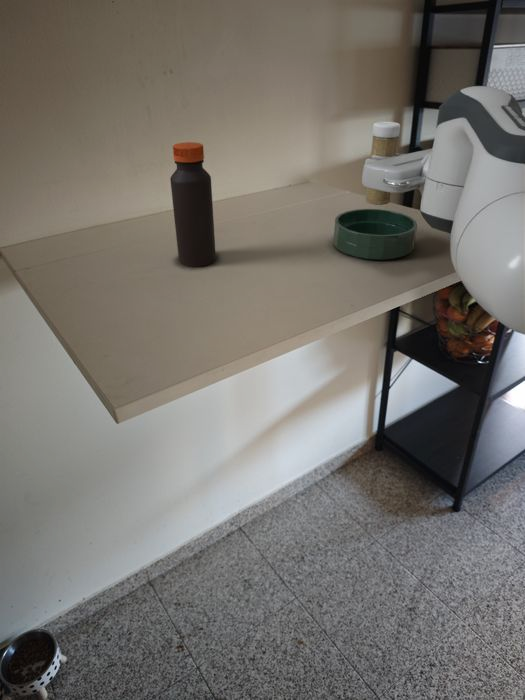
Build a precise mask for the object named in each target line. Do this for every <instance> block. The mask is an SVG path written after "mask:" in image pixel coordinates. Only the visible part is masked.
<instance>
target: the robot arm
mask: <svg viewBox="0 0 525 700" xmlns="http://www.w3.org/2000/svg"><path fill="white" fill-rule="evenodd" d="M435 128H436V129H435V130H436V131H435V134H434V135H435V136H434V140H433V144H432V148H428V149H427V148H426V149H423V150H422V149H421V150H418V151H414V152H409V153H398V152H396V157H391V158H387V159H382V160H379V159H377V158H371V157H368V158H366V159H365V160H364V164H363V167H362V175H361V184H362V186H363V187H364V188H366V189H367V188H370V189H375V190H379V191H384V192H390V194H391V193H392V194H402V193H407V192H410V191H414V190H419V193H420V195H421V199H420V209H419V212H420V214H421V217H422V218H423V219H424V221H425V222H426V223H427V224H428V225H429V227H431V228H432V229H435V230H437V231H440V232H444V233H446V234H450V241H449V242H450V243H449V244H450V245H449V246H450V247H449V248H450V258H451V263H452V266H453V269H454V271H455V273H456V275H457V277H458V278H459V280H460V281H461V283H462V284H463V286H464V288H465V289H466V291H467V292H468V293H469V294H470V296H471V297H472V298H473V300H474V301H475V302H476V303H477V304H478V305H479V306H480V307H481V308H482V309H483V310H484V311H485V312H486V313H487V314H489V315H490V316H491V317H492V318H493V319H495V321H497V322H499V323H500V324H502V325H503V326H505V327H506V328H508V329H510V330H512V331H513V332H516V333H519V334H521V335H524V336H525V115H524V114H523V110H522V107H521V106H520V104H519V102H518V101H517V99H516V97H514V96H513V94H510V93H508V92H506V91H505V90H502V89H500V88H497V87H493V86H486V85H474V86H468V87H464V88H459V89H458V90H456V91H455V92H453V93H452V94H450V96H448V97H447V99H445V100H444V101H443V102H442V103H441V105H439V107H438V113H437V120H436V126H435Z"/></svg>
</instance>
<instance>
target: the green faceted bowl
mask: <svg viewBox="0 0 525 700" xmlns="http://www.w3.org/2000/svg"><path fill="white" fill-rule="evenodd" d="M417 231H418V223H417V221H416V220H415V218H413V217H411V216H409V215H407V214H404V213H403V212H398V211H394V210H388V209H381V208H360V209H351V210H347V211H344V212H341V213H339V214H338V215H336V216H335V218H334V229H333V243H332V244H333V246H334V247H335V248H336V250H338V251H341V252H342V253H344V254H346V255H349V256H352V257H354V258H358V259H364V260H370V261H371V260H373V261H384V260H386V261H387V260H392V259H398V258H401V257H405V256H407V255H409V254H411V253H412V251H413V249H414V248H415V243H416V238H417Z"/></svg>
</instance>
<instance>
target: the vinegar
mask: <svg viewBox="0 0 525 700" xmlns="http://www.w3.org/2000/svg"><path fill="white" fill-rule="evenodd" d="M172 153H173V160H174V164H176V169H175V171H174V172H173V173H172V175H171V176H170V178H169V180H170V189H171V191H170V192H171V199H172V208H173V216H174V228H175V237H176V238H175V239H176V247H177V255H178V257H177V258H178V261H179V263H180V264H181V265H183V266H186V267H190V268H200V267H206V266H208V265H211V264H213V263H214V262H215V261H216V258H217V256H216V254H217V253H216V240H215V239H216V237H215V221H214V207H213V190H212V188H213V187H212V177H211V174H210V173H209V172H207V170H206V169H205V168H204V167H203V166H204V165H203V163H204V162H205V153H204V144H202V143H200V142H191V141H190V142H189V141H188V142H179V143H178V142H177V143H175V144H173V145H172Z"/></svg>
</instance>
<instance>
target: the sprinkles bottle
mask: <svg viewBox="0 0 525 700" xmlns="http://www.w3.org/2000/svg"><path fill="white" fill-rule="evenodd" d="M371 134H372V141H371V143H372V144H371V151H370V158H377V159H379V160H382V159H387V158H391V157H396V153H397V148H398V140H399V136H400V135H401V124H400V123H399V122H395V121H378V122H374V123H373V125H372V131H371ZM365 202H366V203H368V204H371V205H375V206H383V205H388V204H389V203H390V202H391V193H390V192H384V191H379V190H375V189H370V188H367V187H366V195H365Z"/></svg>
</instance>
